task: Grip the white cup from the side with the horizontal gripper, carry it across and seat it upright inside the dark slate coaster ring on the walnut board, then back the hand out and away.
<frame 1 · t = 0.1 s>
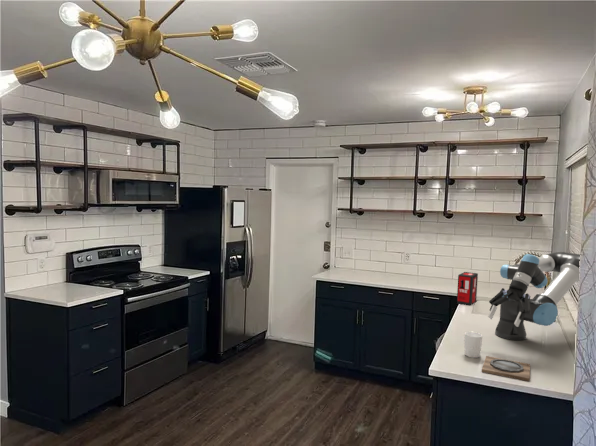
hand: (502, 321, 212), 15 cm above the table, tool tilted 35°, fingers open, 13 cm apart
coaster board: (506, 369, 193), on the table
cleaning product box: (466, 302, 312), on the table
white cup: (472, 355, 209), on the table
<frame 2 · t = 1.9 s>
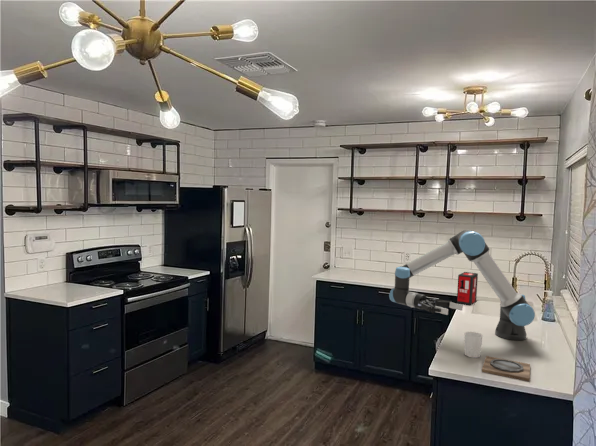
hand: (455, 309, 215), 19 cm above the table, tool horizontal, fingers open, 13 cm apart
nothing on the table moved.
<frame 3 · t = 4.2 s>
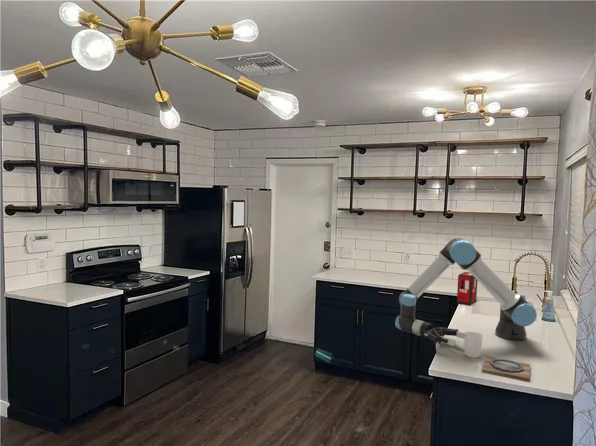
hand: (462, 340, 212), 6 cm above the table, tool horizontal, fingers open, 13 cm apart
nothing on the table moved.
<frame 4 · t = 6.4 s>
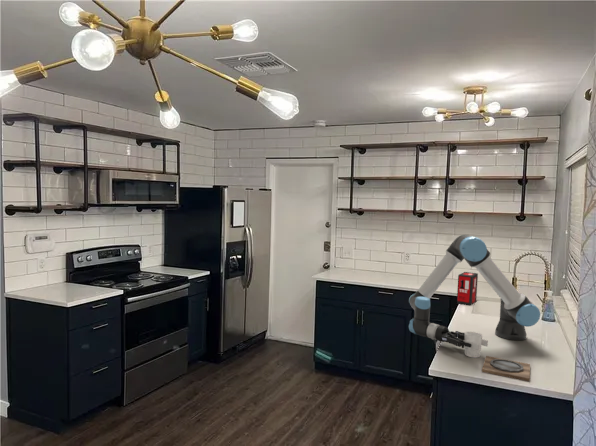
hand: (483, 345, 205), 6 cm above the table, tool horizontal, fingers closed on white cup, 8 cm apart
white cup: (472, 355, 209), on the table, touching gripper
everything else where it was.
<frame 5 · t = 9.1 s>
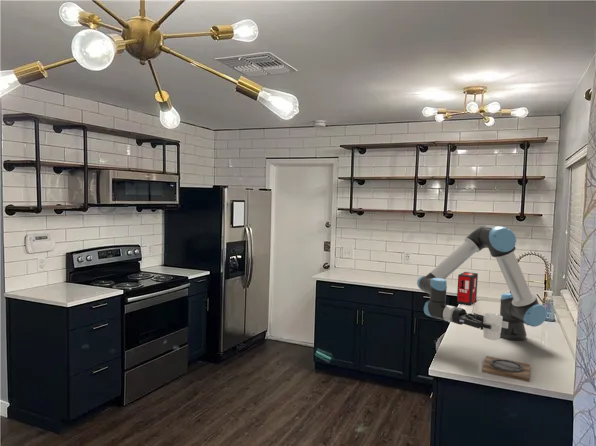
hand: (503, 327, 194), 18 cm above the table, tool horizontal, fingers closed on white cup, 8 cm apart
white cup: (491, 338, 198), point 12 cm above the table, touching gripper
everything else where it was.
when the fingers open (9 cm above the table, at t = 11.7 s): white cup drops 2 cm, resting on coaster board.
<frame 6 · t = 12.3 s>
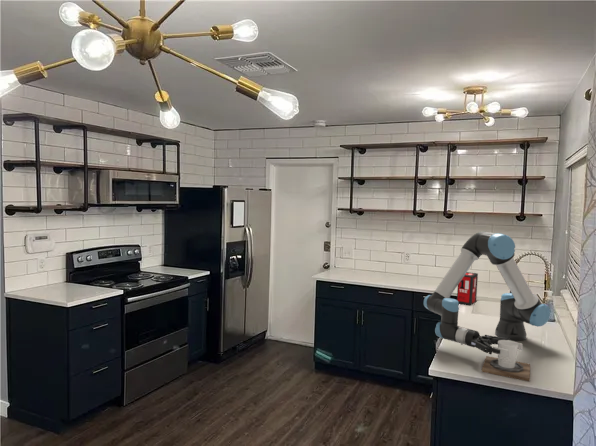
hand: (515, 350, 190), 9 cm above the table, tool horizontal, fingers open, 13 cm apart
white cup: (506, 365, 193), point 1 cm above the table, touching coaster board
everything else where it was.
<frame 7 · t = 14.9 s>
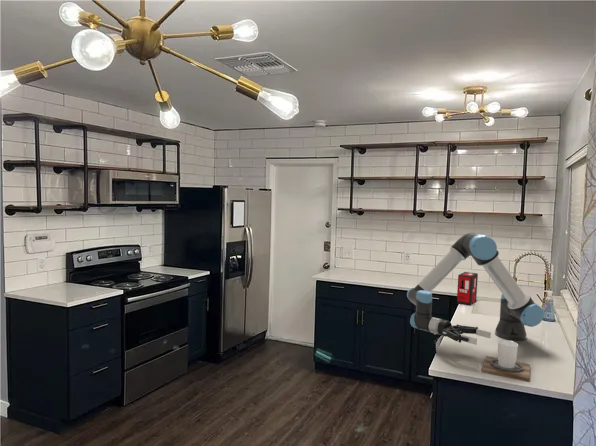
hand: (483, 338, 200), 11 cm above the table, tool horizontal, fingers open, 13 cm apart
nothing on the table moved.
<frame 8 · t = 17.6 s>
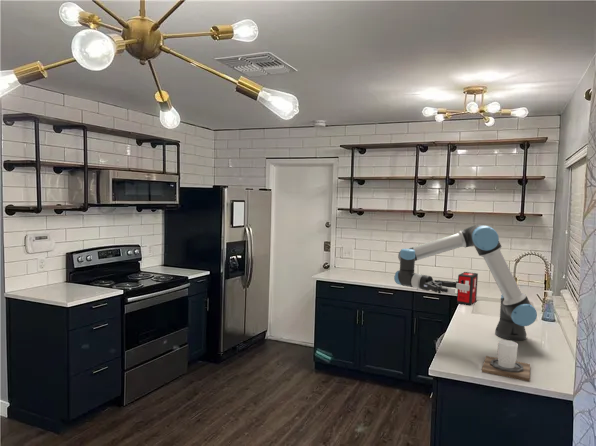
hand: (462, 289, 210), 30 cm above the table, tool horizontal, fingers open, 13 cm apart
nothing on the table moved.
at the end: white cup 0.1 cm off-centre on the coaster board, point 1.4 cm above the coaster board's base; white cup tilted 0°; the gripper is holding nothing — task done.
